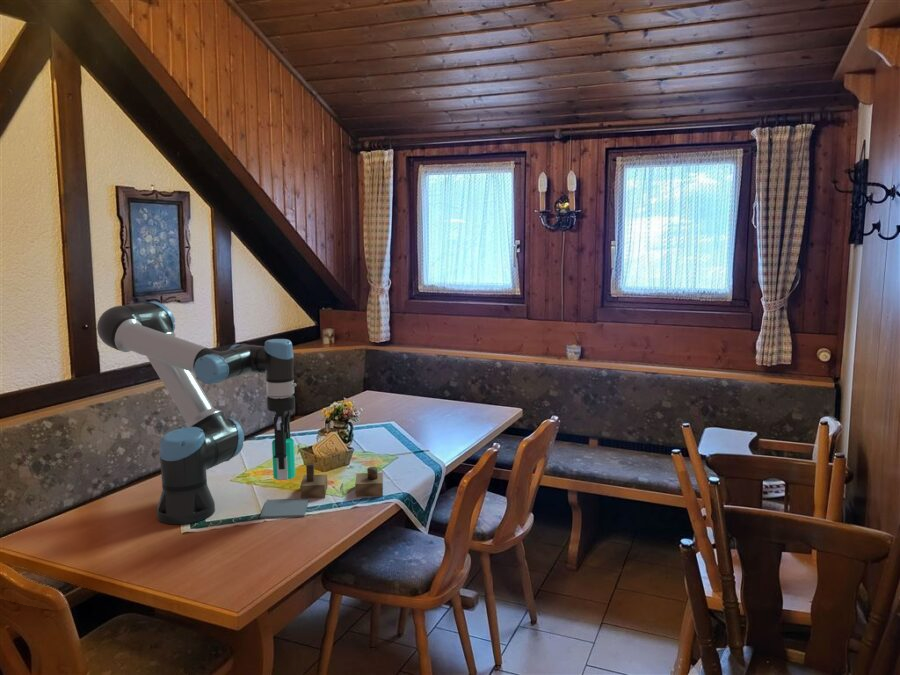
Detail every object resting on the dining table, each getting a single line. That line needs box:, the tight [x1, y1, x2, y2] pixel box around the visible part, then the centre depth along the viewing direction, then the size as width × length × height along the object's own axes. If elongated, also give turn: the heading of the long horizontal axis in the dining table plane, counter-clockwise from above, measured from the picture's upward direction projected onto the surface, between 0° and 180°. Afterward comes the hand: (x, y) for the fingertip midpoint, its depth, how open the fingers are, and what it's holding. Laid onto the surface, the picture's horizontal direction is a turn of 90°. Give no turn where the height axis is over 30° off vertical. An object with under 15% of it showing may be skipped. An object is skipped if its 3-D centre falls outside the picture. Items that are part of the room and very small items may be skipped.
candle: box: [271, 437, 296, 481], centre depth 202 cm, size 6×6×12 cm
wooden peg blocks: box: [300, 462, 384, 499], centre depth 217 cm, size 24×9×9 cm, turn 95°
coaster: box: [259, 498, 310, 519], centre depth 204 cm, size 12×12×1 cm
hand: (284, 475), depth 203 cm, fingers closed on candle, 6 cm apart
